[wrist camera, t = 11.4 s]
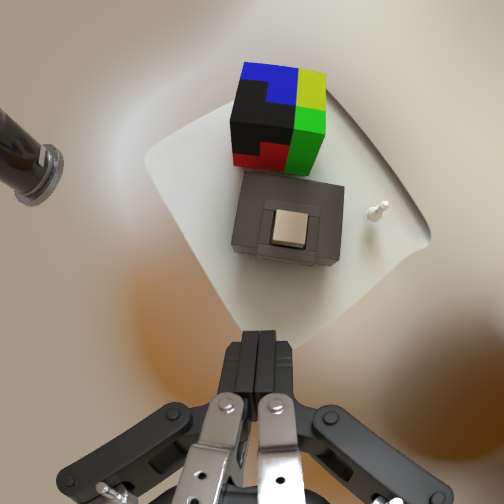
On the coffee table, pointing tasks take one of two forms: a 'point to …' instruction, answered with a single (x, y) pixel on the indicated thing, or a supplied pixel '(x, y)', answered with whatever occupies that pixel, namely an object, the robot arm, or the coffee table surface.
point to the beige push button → (290, 228)
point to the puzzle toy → (278, 118)
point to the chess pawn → (376, 211)
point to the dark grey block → (295, 200)
